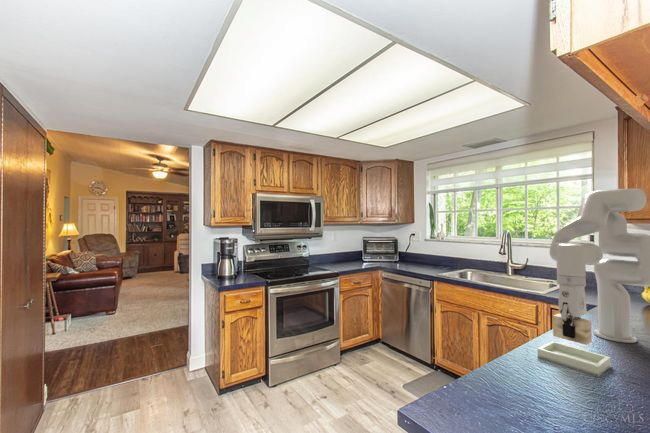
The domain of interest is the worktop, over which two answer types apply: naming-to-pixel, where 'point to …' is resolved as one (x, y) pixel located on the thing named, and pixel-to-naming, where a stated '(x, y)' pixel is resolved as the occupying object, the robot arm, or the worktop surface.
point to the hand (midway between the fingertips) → (572, 334)
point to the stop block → (581, 329)
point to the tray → (575, 358)
